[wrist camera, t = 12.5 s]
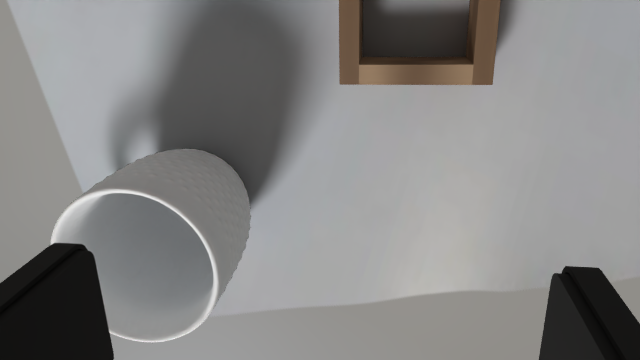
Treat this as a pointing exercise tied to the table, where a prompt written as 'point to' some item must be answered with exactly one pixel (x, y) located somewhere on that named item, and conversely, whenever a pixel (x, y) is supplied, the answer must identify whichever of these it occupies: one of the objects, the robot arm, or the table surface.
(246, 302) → the table surface
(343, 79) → the socket block
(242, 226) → the mug
